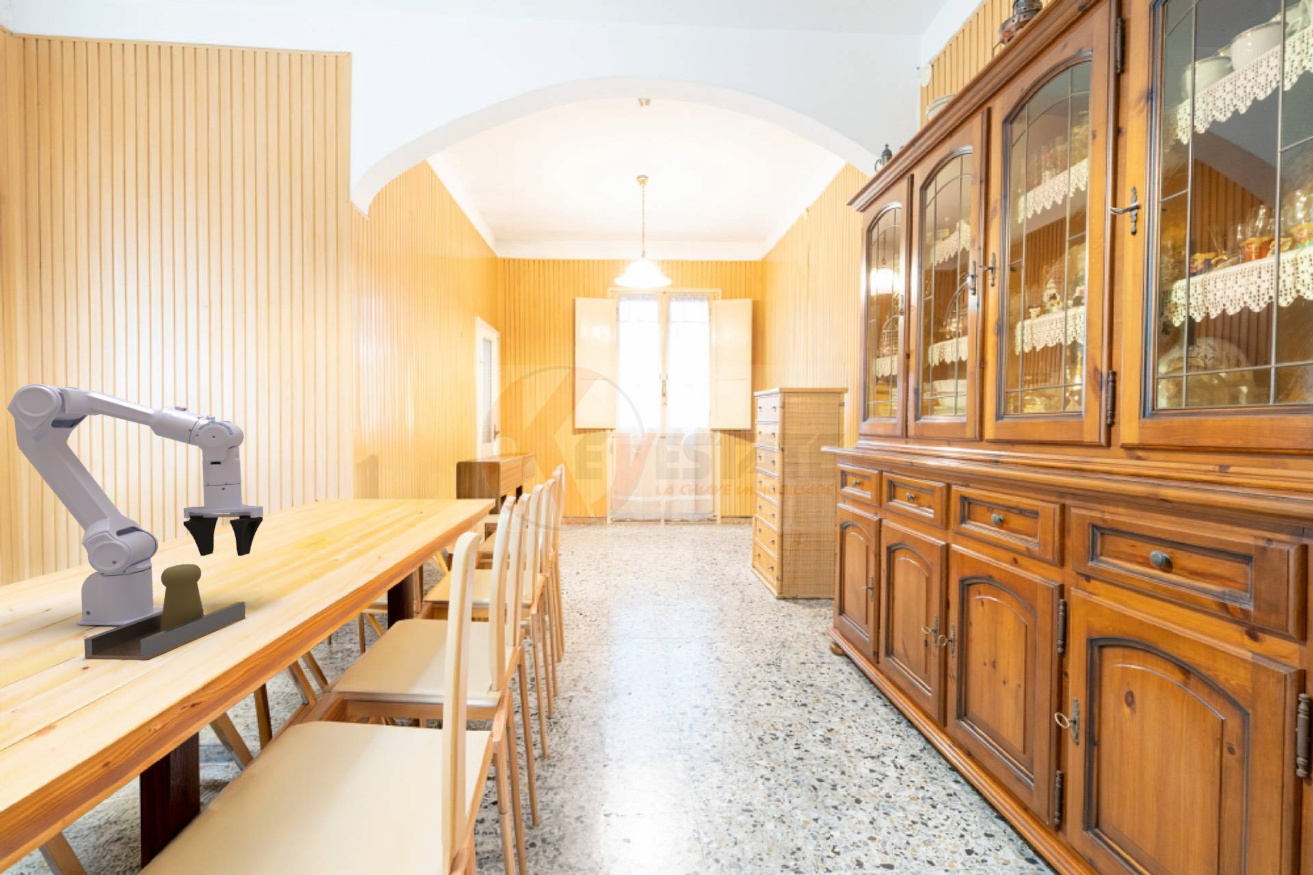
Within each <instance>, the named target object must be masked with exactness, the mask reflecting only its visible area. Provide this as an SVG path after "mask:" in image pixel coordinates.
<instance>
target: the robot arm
mask: <svg viewBox="0 0 1313 875" xmlns="http://www.w3.org/2000/svg"><path fill="white" fill-rule="evenodd" d="M6 409H7V410H8V412H9V413H10V414H11V416H12V417H13V419H14V428H15V437H16V444H17V447H18V448H19V450H20V451H21V453H22V454H23V455H24V457H25V458H26V459H27V460H28V462H29V463H30V464H31V465H32V467H33V468H34V469H35V470H36V472H37V474H38V475H40V476H41V478H42V479H43V480H44V482H45V484H47V485H48V486H49V489H51V490H52V492H53V493H54V495H56V497H57V498H58V499H59V501H61V503H62V504H63V505H64V507H65V508H66V509H67V510H68V512H69V513H70V515H72V517H73V519H75V521H76V522H77V523H78V525H79V526H80V527H81V528H82V530H83V531H84V534H83V538H82V539H81V540H82V541H81V545H82V546H83V547H84V548H85V550H86V552H87V560H88V563H89V566H91V567H92V569H94V571H95V572H93V573H90V575H88V576H87V577H86V578H85V580H83V583H82V586H81V590H80V591H81V615H82V616H81V617H82V618H81V619H82V620H80V621H78V622H77V623H76V625H78V626H122V625H125V624H128V623H131V622H134V621H137V620H140V619H142V618H145V617H148V616H151V615H154V614H157V613H159V612H162V611H163V607H162V608H159V607H154V590H153V586H154V585H153V567H152V566H153V563H152V560H151V559H152V557H154V556H155V555H156V553H157V552H158V549H159V541H158V539H157V537H156V536H155V535H154V534H153V533H151V532H150V531H148V530H146V529H143V528H142V527H141V526H140V524H139V523H138V522H137V521H135V520H133V519H132V518H129V517H127V516H126V515H123V513H121V512H120V510H119V509H118V508H117V506H116V505H115V504H114V502H112V500H111V499H110V497H108V495H107V494H106V492H105V490H104V489H102V487H101V486H100V485H99V484H98V482H97V481H96V479H95V478H94V477H93V476H92V475H91V473H90V472H89V471H88V469H87V468H86V467H85V465H84V464H83V463H82V462H81V460H80V459H79V457H78V456H77V455H76V454H75V452H74V450H72V448H70V446H69V445H68V442H67V441H68V440H69V437H70V436H71V434H72V432H73V431H74V430H75V429H76V428H77V427H78V426H79V425H80V424H81V423H82V422H83V421H84V420H85V419H86V418H87V417H88V416H99V415H103V416H107V417H111V418H115V419H120V420H123V421H128V422H132V423H136V424H140V425H143V426H148V427H149V428H150V429H151V431H152V432H153V433H154V435H156V436H157V437H162V438H165V439H169V440H173V441H176V442H180V443H185V444H187V445H191V446H195V447H196V446H197V447H198V448H199V449H200V450H201V451H202V452H201V454H202V481H203V482H202V483H203V484H202V486H203V505H204V506H203V505H201V506H189V507H188V506H187V507H183V518H184V519H188V520H185V521H184V520H183V524H182V525H183V526H184V527H185V528H186V530H187V531H188V532H189V533H190V535H191V536H192V538H193V540H194V542H195V544H196V547H197V550H198V553H199V555H200V557H205V556H208V555H213V554H214V548H215V547H214V546H215V545H214V543H215V532H216V531H215V530H216V527H217V526H216V525H217V523H218V519H219V518H235V519H230V520H229V524H230V526H231V528H232V530H233V533H234V538H235V545H236V547H235V548H236V554H237V557H242V556H246V555H250V554H251V549H252V545H253V541H254V538H255V536H256V533H257V531H258V529H259V527H260V525H261V524H262V522H263V521H264V505H246V504H244V503H243V498H242V478H241V477H242V476H241V475H242V474H241V472H242V470H241V459H240V458H241V457H240V446H241V445H242V444H243V441H244V431H243V430H242V428H241V427H240V426H239V425H237V424H236V423H233V422H231V421H229V420H221V421H216V417H215V416H213V415H206V416H204V415H200V414H198V413H194V412H190V411H188V409H187V407H185V406H181V405H175V406H166V407H163V408H161V409H155V408H153V407H152V408H151V407H148V406H145V405H143V404H139V403H136V402H134V401H133V402H132V401H129V400H126V399H124V398H123V399H122V398H121V397H117V396H114V395H111V394H109V393H105V392H100V391H94V390H86V389H81V388H78V387H72V386H70V387H69V386H67V387H63V386H54V385H53V386H52V385H47V384H41V383H31V384H27V385H25V386H22V387H20V388H19V389H17V391H16V392H15V393H14V394H13V397H12V399H11V400H10V402H9V404H8V405H7V408H6Z"/></svg>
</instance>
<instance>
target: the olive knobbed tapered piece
mask: <svg viewBox="0 0 1313 875" xmlns="http://www.w3.org/2000/svg"><path fill="white" fill-rule="evenodd" d="M201 576H202V570H201V568H200V566H199V565H197V564H194V563H184V564H176V565H173V566H170V567H169V566H168V567H166V568H165V569H164V570H163V571H162V573H161V574H160V581H161V584H162V586H164V587H165V590H164V600H163V605H162V606H163V607H162V608H163V613H162V620H161V628H160V632H162V631H164V630H167V629H170V628H172V627H175V626H177V625H180V624H182V623H185V622H188V621H190V620H193V619H195V618H198V617H200V616H203V615H205V614H204V609H203V605H202V604H203V603H202V600H201V599H202V598H201V595H200V594H201V593H200V590H199V584H198V582H199V581H200V579H201Z"/></svg>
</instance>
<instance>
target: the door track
mask: <svg viewBox="0 0 1313 875" xmlns="http://www.w3.org/2000/svg"><path fill="white" fill-rule="evenodd" d="M162 613H163V611H162V612H159V613H157V614H154V615H151V616H148V617H145V618H142V619H140V620H137V621H134V622H131V623H128V624H125V625H119V626H117V627H115V628H112V629H109V630H105V631H103V632H100V633H97V634H94V635H91V636H89V637H86V638H84V639H83V642H84V659H89V660H90V659H94V660H95V659H98V660H99V659H100V660H103V659H104V660H105V659H106V660H144V661H145V660H146V661H147V660H151V659H153V658H156V657H159V656H160V655H163V654H165V653H167V652H169V651H172V650H174V649H177V648H179V647H181V646H182V647H183V645H186V644H189V643H191V642H193V641H195V640H197V639H199V638H202V637H204V636H207V635H209V634H212V633H214V632H217V631H219V630H221V629H223V628H226V627H228V626H230V625H233V624H236V623H237V622H239V621H242V620H244V619H246V602H245V601H236V602H234V603H232V604H229V605H227V606H224V607H222V608H219V609H217V610H214V611H212V612H211V611H210V612H208V613H206V614H204V615H203V616H200V617H198V618H195V619H193V620H190V621H188V622H185V623H182V624H180V625H177V626H175V627H172V628H170V629H167V630H164V631H162V632H160V628H161V620H162Z"/></svg>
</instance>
